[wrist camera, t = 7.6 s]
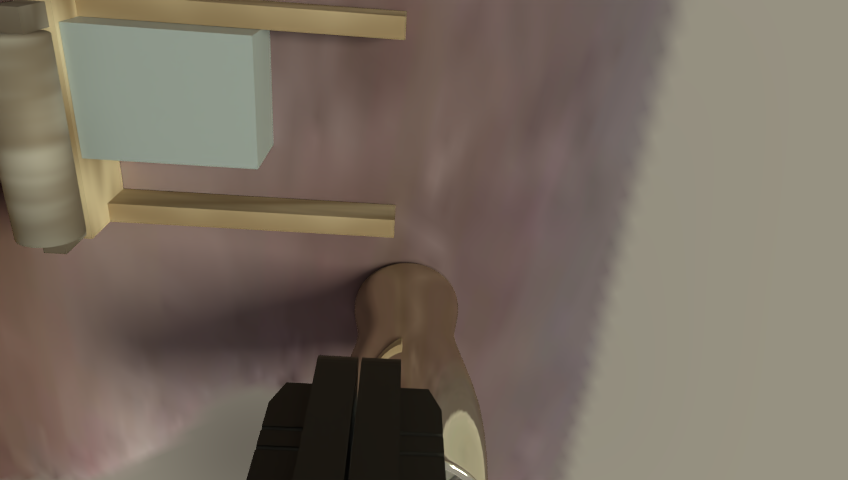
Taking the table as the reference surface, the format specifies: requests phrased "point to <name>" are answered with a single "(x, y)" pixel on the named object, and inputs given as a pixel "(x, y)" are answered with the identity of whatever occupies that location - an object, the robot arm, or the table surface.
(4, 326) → the table surface
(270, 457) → the robot arm
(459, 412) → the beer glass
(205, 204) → the bay
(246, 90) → the pale teal block
